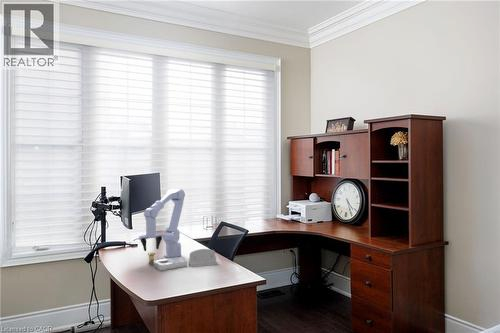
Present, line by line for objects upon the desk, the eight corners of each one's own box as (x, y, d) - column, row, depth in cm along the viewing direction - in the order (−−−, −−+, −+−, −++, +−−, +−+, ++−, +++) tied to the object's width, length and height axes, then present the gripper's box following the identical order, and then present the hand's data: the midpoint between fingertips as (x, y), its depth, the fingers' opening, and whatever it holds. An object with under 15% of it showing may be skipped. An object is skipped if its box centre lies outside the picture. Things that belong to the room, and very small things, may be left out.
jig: (178, 261, 227) (178, 256, 227) (186, 266, 217) (186, 261, 217) (153, 265, 218) (153, 260, 218) (160, 270, 208) (160, 265, 208)
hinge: (189, 266, 215) (188, 249, 218) (188, 267, 219) (187, 250, 222) (217, 264, 220) (216, 247, 223) (216, 264, 224) (214, 248, 227)
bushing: (153, 261, 227) (153, 251, 227) (156, 263, 224) (156, 253, 224) (146, 262, 225) (146, 252, 225) (149, 264, 221) (149, 254, 221)
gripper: (141, 230, 217) (141, 252, 217) (164, 227, 225) (165, 249, 225) (137, 228, 222) (137, 250, 223) (160, 225, 230) (160, 247, 231)
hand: (151, 249), depth 224 cm, fingers open, 7 cm apart
